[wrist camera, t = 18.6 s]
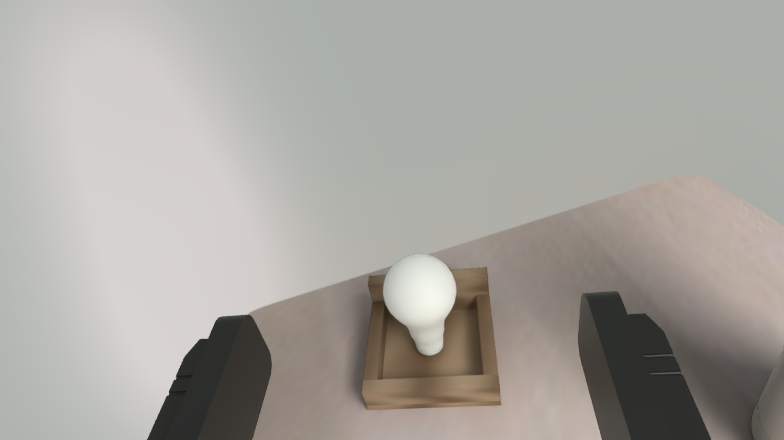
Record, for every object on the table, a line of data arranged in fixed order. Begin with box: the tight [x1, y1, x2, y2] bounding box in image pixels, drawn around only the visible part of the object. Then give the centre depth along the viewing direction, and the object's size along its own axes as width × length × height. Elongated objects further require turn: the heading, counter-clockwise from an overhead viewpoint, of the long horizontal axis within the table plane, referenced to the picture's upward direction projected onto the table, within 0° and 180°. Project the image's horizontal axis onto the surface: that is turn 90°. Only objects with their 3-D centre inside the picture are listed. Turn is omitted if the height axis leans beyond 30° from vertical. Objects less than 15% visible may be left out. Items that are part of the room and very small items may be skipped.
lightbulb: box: [383, 254, 456, 356], centre depth 45 cm, size 6×6×11 cm
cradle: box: [362, 267, 501, 410], centre depth 47 cm, size 11×11×5 cm
